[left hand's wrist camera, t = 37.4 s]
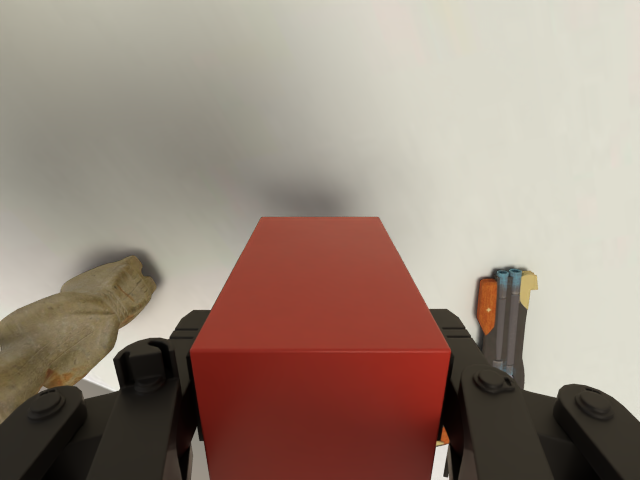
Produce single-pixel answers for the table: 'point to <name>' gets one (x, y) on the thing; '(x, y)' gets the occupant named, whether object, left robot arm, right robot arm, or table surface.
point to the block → (320, 359)
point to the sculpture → (68, 330)
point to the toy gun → (503, 322)
